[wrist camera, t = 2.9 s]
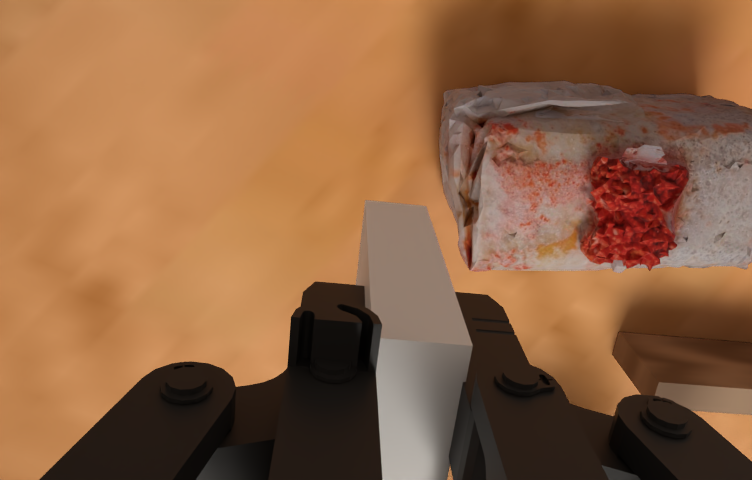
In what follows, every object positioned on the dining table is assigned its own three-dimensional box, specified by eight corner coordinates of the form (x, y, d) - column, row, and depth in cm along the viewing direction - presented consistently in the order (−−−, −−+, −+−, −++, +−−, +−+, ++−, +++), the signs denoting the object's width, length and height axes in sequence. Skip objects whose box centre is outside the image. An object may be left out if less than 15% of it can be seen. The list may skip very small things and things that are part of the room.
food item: (429, 229, 33) (459, 318, 24) (430, 73, 31) (465, 108, 21) (685, 219, 34) (810, 304, 25) (710, 64, 31) (862, 95, 22)
